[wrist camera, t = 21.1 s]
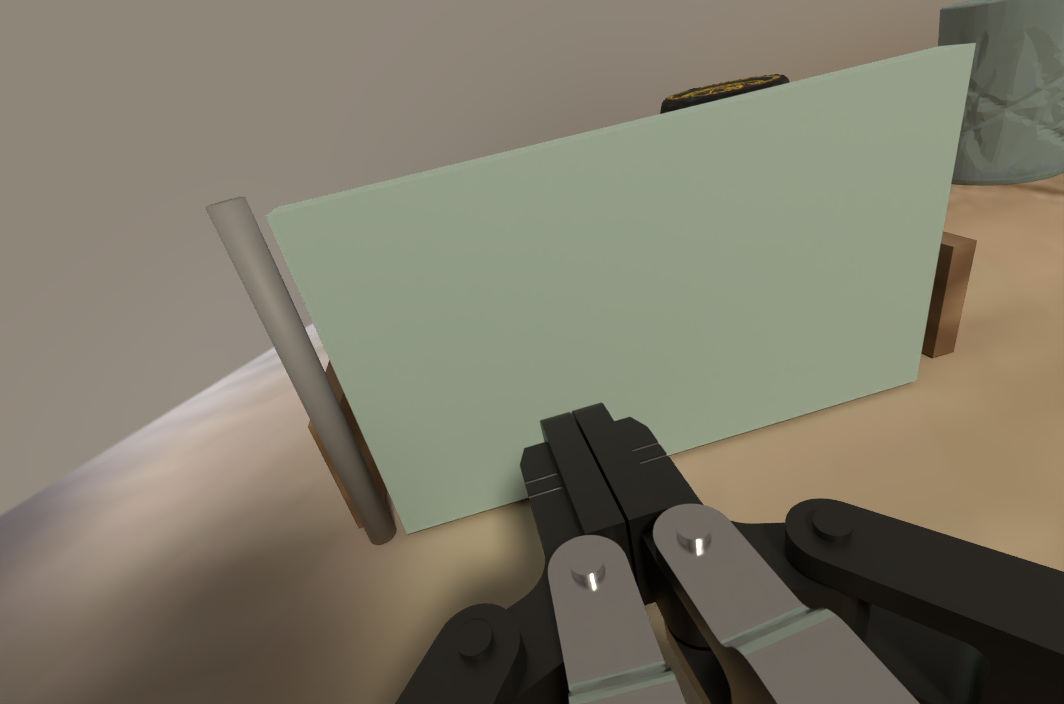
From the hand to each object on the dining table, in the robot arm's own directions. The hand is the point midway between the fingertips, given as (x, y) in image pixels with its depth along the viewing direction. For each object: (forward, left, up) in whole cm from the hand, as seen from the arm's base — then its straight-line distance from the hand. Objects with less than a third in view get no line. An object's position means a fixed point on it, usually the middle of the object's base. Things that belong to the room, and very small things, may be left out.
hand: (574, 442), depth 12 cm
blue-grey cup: (+41, +26, -7) cm, 49 cm away
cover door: (+4, +6, -6) cm, 10 cm away
